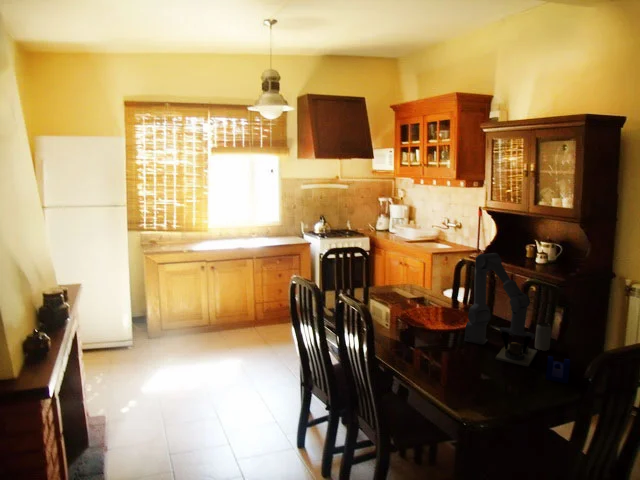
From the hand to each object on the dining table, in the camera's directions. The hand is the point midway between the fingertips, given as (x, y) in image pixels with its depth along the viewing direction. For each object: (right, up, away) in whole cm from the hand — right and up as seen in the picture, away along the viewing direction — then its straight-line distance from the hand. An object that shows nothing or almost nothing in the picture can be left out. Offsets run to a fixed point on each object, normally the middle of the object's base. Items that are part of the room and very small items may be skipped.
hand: (515, 350), depth 237 cm
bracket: (+13, -7, -13) cm, 20 cm away
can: (+18, -2, +14) cm, 22 cm away
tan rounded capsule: (0, -3, 0) cm, 3 cm away
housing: (+2, -3, +4) cm, 6 cm away
